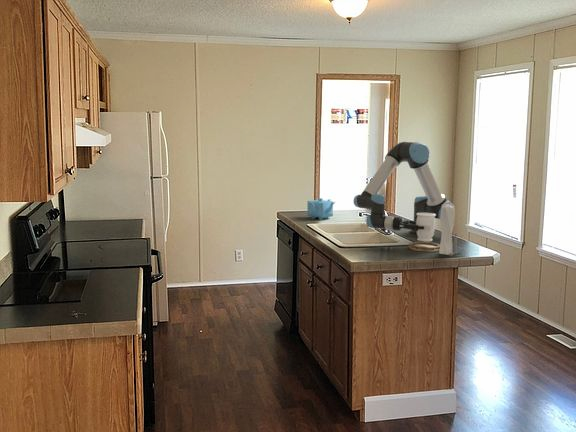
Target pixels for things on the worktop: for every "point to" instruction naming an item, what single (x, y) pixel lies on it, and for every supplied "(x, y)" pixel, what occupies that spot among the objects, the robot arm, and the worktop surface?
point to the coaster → (424, 246)
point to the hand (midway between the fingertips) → (433, 226)
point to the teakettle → (320, 208)
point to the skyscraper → (447, 230)
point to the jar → (425, 220)
